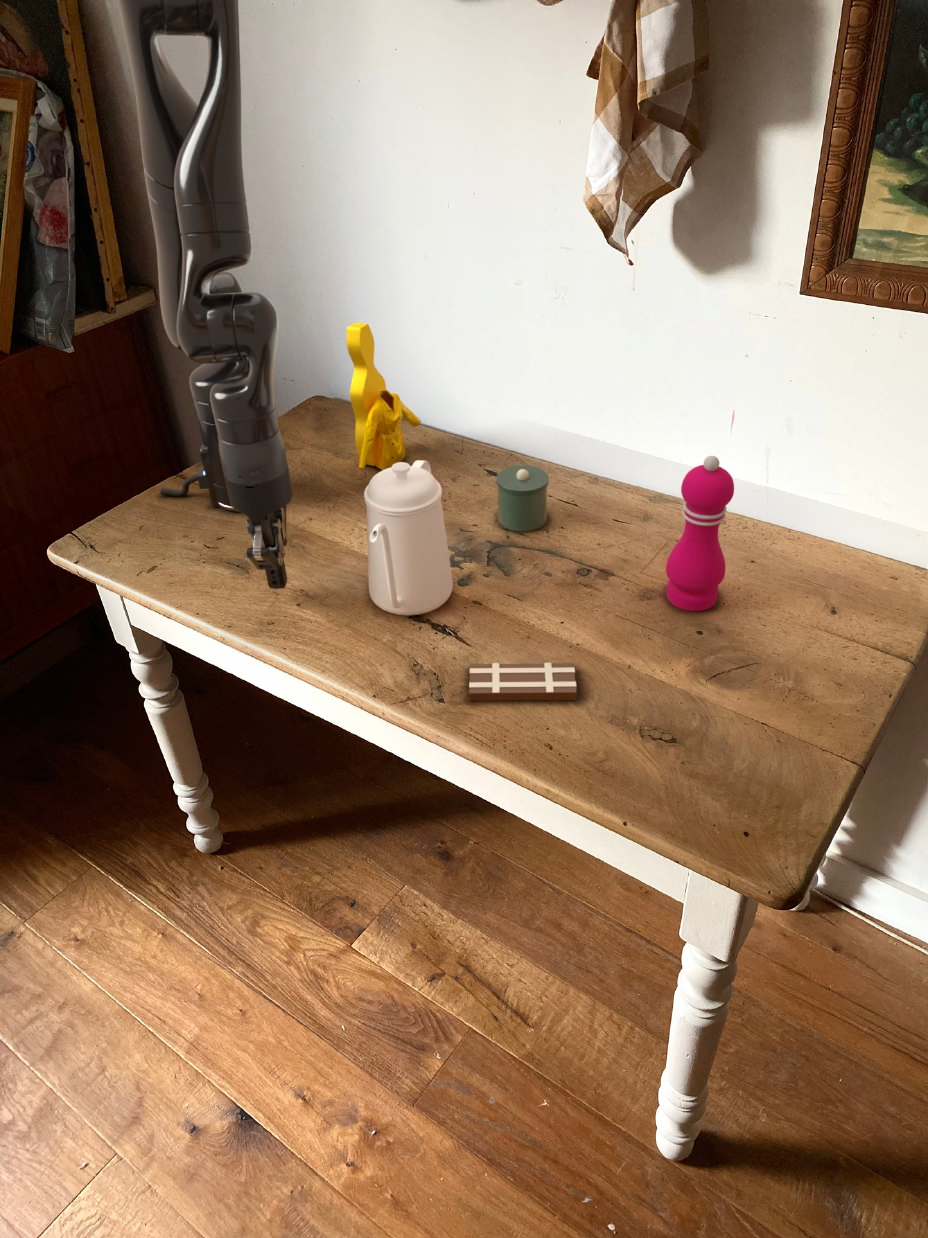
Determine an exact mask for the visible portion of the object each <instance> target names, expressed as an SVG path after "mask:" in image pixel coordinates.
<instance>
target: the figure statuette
mask: <svg viewBox="0 0 928 1238" xmlns="http://www.w3.org/2000/svg"><path fill="white" fill-rule="evenodd" d="M346 349H347V353H348V356H349V357H350V359H351V361H352V364H353V374H352V379H351V384H350V388H349V399H350V404H351V407H352V410H353V413H354V417H355V429H354V434H355V435H354V438H355V440H354V441H355V448H356V449H355V450H356V453H357V457H358V460H359V462H358V469H359V470H365V468H366V465H367V466H373V467H376V468H378V469H379V470H381V471H383V470H385V469H388V468H391V467H392V465H393V464H395V463H398V462H403V460H404V458H405V457H406V446H405V440H404V434H403V431H402V421H403V420H404V421H406V423H408V424H409V425H410V426H411V427H412V428H415V427H417V426H419V425H420V424H421V423H422V420H421V419H420V418H419V417H418V416H417V415H415V413H414V412H413V411H412V410H411V409H409V407H407V406H406V405H405V404H404V403H403V401H402V399H401V397H400V395H399V394H398V393H395V392H390V391H389V390H388V389H387V385H386V380H385V379H384V377H383V375H382V374H381V373H380V371H378V369H377V368H376V366H375V363H374V362H375V361H374V359H375V339H374V335H373V333H372V329H371V327H370V325H369V324H368V323H364V322H353V323H352V324H350V325H349V326H347V327H346Z"/></svg>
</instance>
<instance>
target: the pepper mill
mask: <svg viewBox="0 0 928 1238" xmlns="http://www.w3.org/2000/svg"><path fill="white" fill-rule="evenodd" d="M680 493H681V496H682V498H683V500H684V502H683V505H682V508H683V509H682V512H681V514H682V517H683V518H684V519H685V524H684V529H683V533H682V535H681V537H680V538H679V540H678V542H677V543H676V544H675V546H673V548H672V550H671V551H670V553H669V555H668V557H667V560H666V565H665V574H666V577H667V578H668V582H667V586H666V599H667V600H668V601H669V603H670V604H672V606H674V607H675V608H678V609H680V610H683V611H687V612H688V611H689V612H701V611H706V610H709V609H711V608H712V607H713V606H715V604H716V603H717V600H718V593H719V585H721V583H722V582H723V581H724V579H725V576H726V561H725V560H726V559H725V556H724V553H723V550H722V546H721V545H720V540H719V528H720V524H721V523H722V522H724V521H725V519H726V513H727V505H728V504H729V503H730V502H731V500H732V499H733V497H734V495H735V482H734V479H733V476H732V475H731V473H730V472H729V471H728V470H726V469H725V468H723V467H722V466H720V459H719V458H718V457H717V456H715V455H709V456H706V457H705V458H704V460H703V464H700V465H697V466H695V467H693V468H691V469H690V470H689V471H687V473H686V474H685V476H684V478H683V479H682V483H681V485H680Z"/></svg>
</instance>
